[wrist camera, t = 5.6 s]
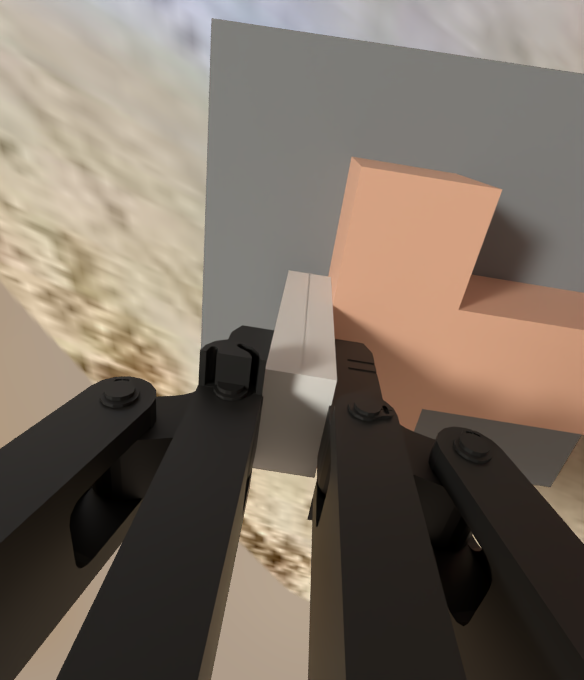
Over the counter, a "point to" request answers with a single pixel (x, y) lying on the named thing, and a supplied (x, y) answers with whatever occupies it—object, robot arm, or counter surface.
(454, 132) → the mat
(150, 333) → the counter surface
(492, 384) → the t block
